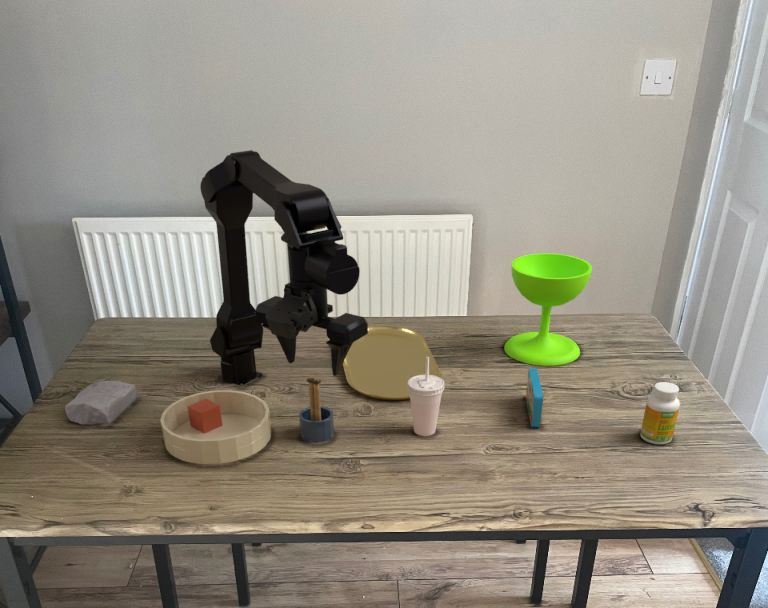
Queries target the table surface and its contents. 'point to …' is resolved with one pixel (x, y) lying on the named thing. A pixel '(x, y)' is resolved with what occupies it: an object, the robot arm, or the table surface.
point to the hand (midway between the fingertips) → (313, 368)
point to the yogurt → (534, 397)
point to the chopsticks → (314, 398)
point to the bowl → (226, 443)
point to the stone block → (101, 402)
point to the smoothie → (425, 401)
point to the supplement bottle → (661, 414)
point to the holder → (316, 426)
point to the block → (205, 415)
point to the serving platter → (387, 362)
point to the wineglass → (547, 305)
